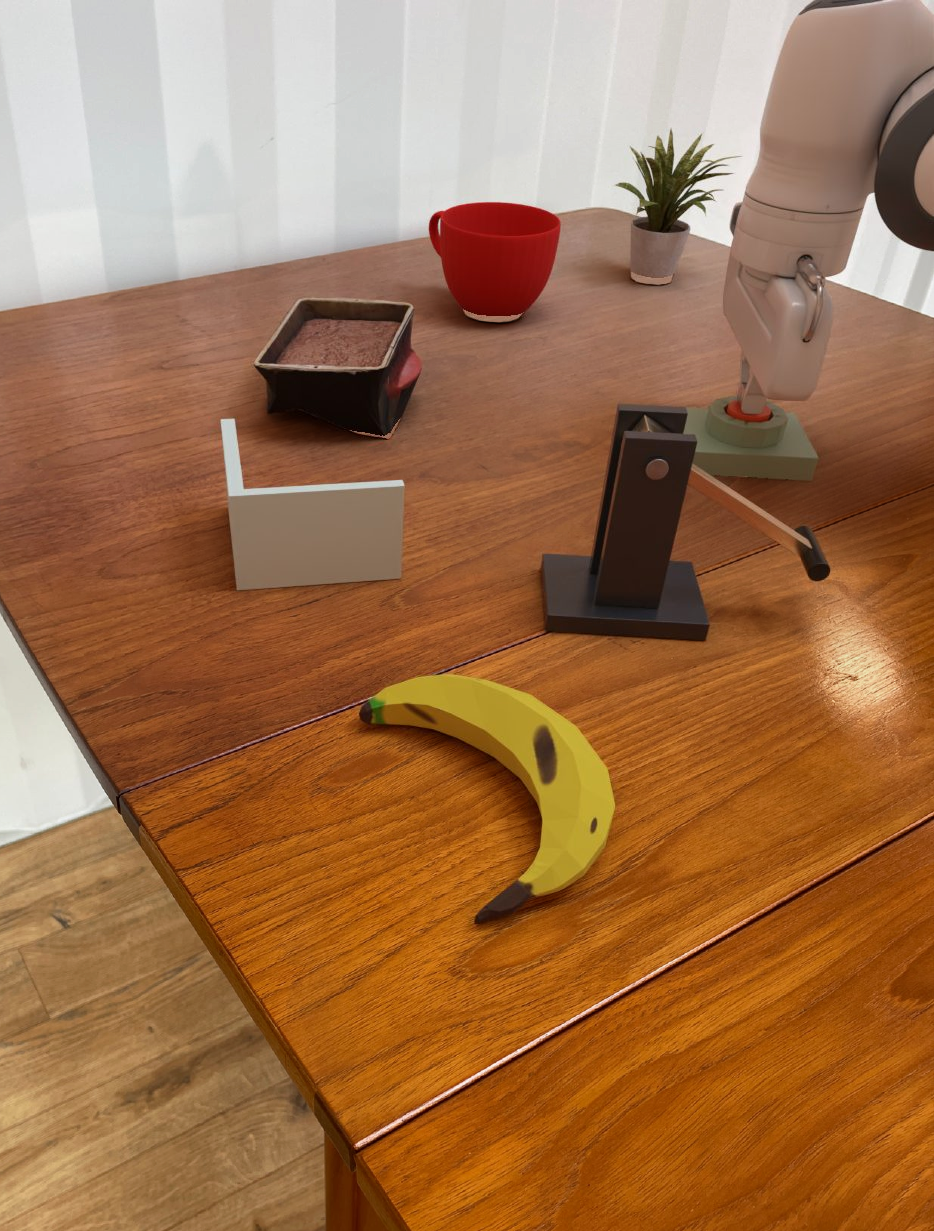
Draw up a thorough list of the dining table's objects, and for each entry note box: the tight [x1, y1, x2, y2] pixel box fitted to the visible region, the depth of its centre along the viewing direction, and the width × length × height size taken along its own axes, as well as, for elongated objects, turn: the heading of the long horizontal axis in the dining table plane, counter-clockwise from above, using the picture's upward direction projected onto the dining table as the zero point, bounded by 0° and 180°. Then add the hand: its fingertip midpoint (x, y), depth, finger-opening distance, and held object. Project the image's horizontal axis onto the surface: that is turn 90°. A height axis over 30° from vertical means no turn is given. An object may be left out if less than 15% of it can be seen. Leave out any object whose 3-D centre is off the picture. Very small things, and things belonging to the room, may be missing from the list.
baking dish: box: [253, 296, 423, 436], centre depth 97 cm, size 14×18×10 cm
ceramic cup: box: [428, 201, 562, 316], centre depth 117 cm, size 13×17×10 cm
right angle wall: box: [220, 418, 406, 591], centre depth 78 cm, size 12×12×8 cm
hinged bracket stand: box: [539, 403, 711, 641], centre depth 71 cm, size 11×8×14 cm
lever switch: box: [621, 415, 831, 582], centre depth 69 cm, size 16×5×2 cm, turn 86°
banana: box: [358, 673, 616, 926], centre depth 59 cm, size 5×17×15 cm
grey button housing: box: [683, 395, 820, 482], centre depth 92 cm, size 11×9×4 cm
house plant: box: [613, 128, 743, 278], centre depth 123 cm, size 14×14×16 cm
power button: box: [726, 400, 771, 423], centre depth 91 cm, size 4×4×2 cm
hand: (748, 407), depth 91 cm, fingers closed, pressing on power button
